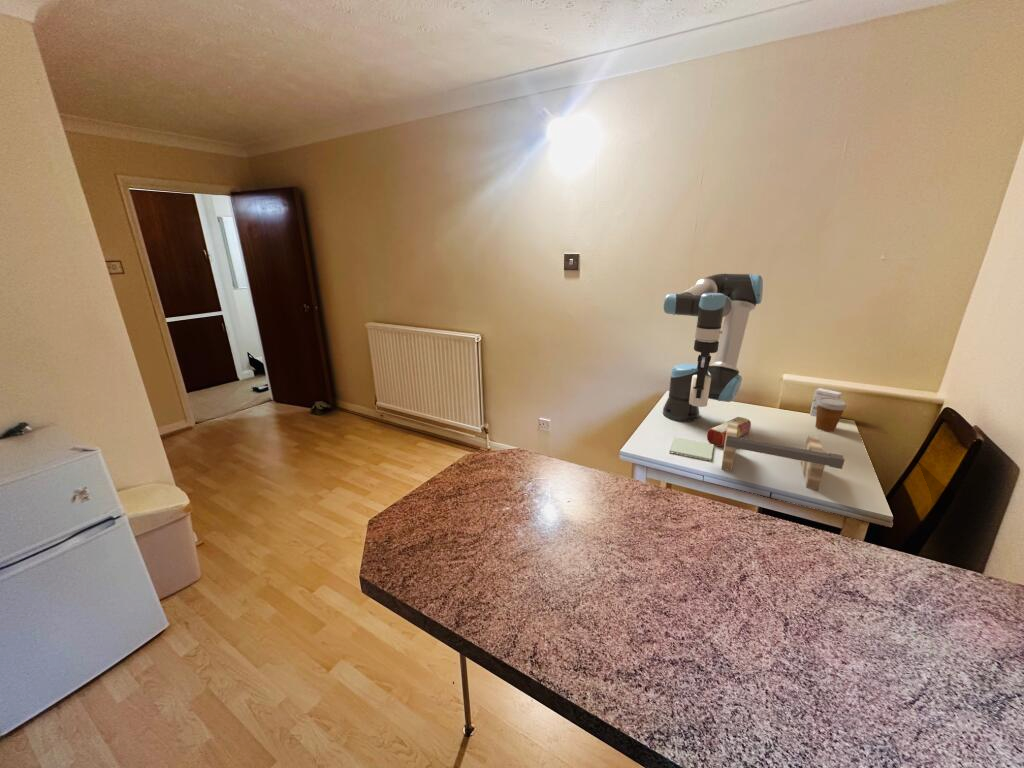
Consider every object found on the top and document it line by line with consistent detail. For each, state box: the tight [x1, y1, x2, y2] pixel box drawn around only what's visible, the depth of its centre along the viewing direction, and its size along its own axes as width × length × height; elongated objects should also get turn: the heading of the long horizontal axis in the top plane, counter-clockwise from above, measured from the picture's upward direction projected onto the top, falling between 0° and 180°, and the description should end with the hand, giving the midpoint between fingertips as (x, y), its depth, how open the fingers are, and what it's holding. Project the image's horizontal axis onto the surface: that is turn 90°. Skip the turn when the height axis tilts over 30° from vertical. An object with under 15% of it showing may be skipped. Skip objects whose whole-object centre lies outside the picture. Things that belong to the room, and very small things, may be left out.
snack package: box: [706, 416, 752, 447], centre depth 157 cm, size 21×7×7 cm, turn 123°
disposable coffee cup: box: [815, 397, 847, 432], centre depth 162 cm, size 10×10×12 cm
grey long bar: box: [726, 436, 845, 470], centre depth 123 cm, size 3×30×3 cm, turn 61°
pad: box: [669, 436, 715, 462], centre depth 150 cm, size 12×14×1 cm
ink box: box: [809, 387, 843, 417], centre depth 173 cm, size 9×5×12 cm, turn 38°
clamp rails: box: [721, 423, 826, 491], centre depth 136 cm, size 16×27×11 cm, turn 61°
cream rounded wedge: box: [689, 375, 711, 408], centre depth 142 cm, size 6×6×10 cm
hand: (698, 402), depth 144 cm, fingers closed on cream rounded wedge, 6 cm apart
